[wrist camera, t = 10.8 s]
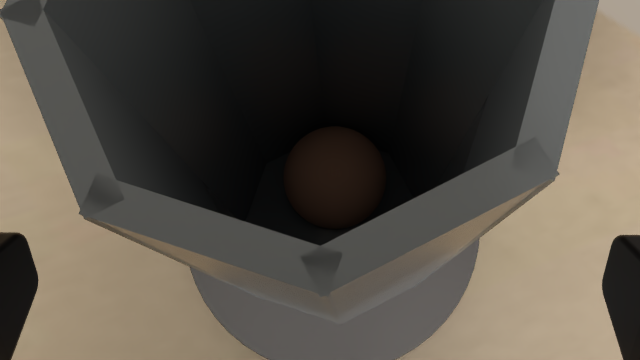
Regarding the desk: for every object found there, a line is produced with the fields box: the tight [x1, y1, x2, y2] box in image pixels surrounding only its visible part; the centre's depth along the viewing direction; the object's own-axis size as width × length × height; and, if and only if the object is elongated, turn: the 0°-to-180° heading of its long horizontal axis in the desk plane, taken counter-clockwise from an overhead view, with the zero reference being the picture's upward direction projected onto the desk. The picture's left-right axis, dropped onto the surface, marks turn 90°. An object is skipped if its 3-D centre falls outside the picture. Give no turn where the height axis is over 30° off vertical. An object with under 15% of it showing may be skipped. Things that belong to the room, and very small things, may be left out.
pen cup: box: [0, 0, 599, 326], centre depth 12 cm, size 6×6×13 cm
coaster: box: [190, 239, 479, 360], centre depth 19 cm, size 9×9×1 cm
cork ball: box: [283, 126, 386, 229], centre depth 17 cm, size 3×3×3 cm
